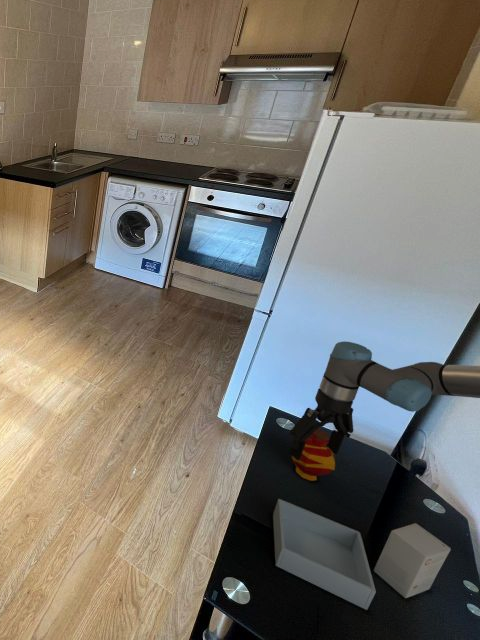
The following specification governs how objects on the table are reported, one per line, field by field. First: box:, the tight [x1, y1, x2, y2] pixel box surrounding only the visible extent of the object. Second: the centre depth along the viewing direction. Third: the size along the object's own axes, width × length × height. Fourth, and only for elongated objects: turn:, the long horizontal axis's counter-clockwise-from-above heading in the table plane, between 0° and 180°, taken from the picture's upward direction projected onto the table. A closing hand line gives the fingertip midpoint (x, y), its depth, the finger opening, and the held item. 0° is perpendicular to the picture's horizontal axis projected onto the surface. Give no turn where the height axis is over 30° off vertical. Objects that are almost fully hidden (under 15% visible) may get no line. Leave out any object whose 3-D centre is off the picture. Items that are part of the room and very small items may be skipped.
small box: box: [373, 522, 451, 599], centre depth 92 cm, size 8×6×13 cm
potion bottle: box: [291, 428, 336, 482], centre depth 120 cm, size 10×10×15 cm
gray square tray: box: [272, 498, 377, 611], centre depth 97 cm, size 16×16×6 cm
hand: (313, 453), depth 120 cm, fingers open, 13 cm apart
